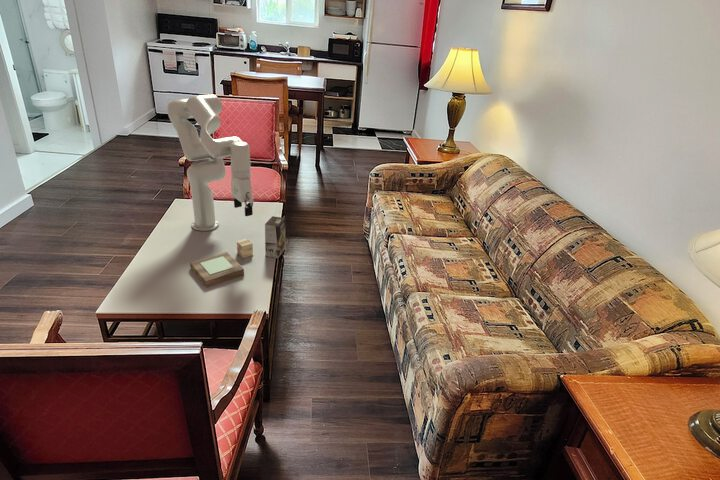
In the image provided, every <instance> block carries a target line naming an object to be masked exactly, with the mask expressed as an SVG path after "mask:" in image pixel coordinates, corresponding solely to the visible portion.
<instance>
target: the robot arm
mask: <svg viewBox="0 0 720 480" xmlns="http://www.w3.org/2000/svg"><path fill="white" fill-rule="evenodd" d="M166 109H167V115H168V118H169V120H170V123H171V124H172V127H174V129H175V131H176V133H177V136H178V139H179V143H180V145H181V149H182V151H183V155H184V157H185V158H186V160H187V161H188V162H196V161H202V160H207V159H208V161H205V162H200V163H199V162H198V163H194V164H192V165H190V166H189V167H188V168H187V170H186V175H187V179H188V182H189V183H188V184H189V186H190V192H191V193H190V194H191V200H192V209H193V217H194V218H193V219H194V220H193V221H192V222H191V228H192V229H193V230H196V231H199V232H210V231H212V230H216V229H217V228H218V227H219V226H220V222H219V221H218V220H217V219H216V216H215V215H216V214H215V202H214V192H213V189H212V188H211V187H210V186H208V184H210V183H213V182H218V181H222V180H224V179H225V178H226V176H227V170H226V166H225V162H224V159H223V158H227V157H230V168H231V169H230V170H231V183H230V184H231V187H230V189H231V196H233V205H234V208H235V209H237V208H241V207H242V206H243V204H244V216H245V217H251V216H253V212H254V211H253V206H254V201H255V200H254V198H253V189H252V182H251V177H252V171H251V170H252V168H251V148H250V145H249V143H248V142H246V141H243V140H242V139H241V138H240V137H238V136H233V135H232V136H228V137H225V136H224V137H220V138H213V137H212V136H211V135H213V134H214V133H215V132H216V131H217V130H218V129H219V128H220V126H221V125H222V123H221V122H222V120H221V117H220V116H219V115H220V114H221V113H222V111H223V103H222V101H221V99H220V98H219V97H218V96H217V95H216V94H201V95H198V94H197V95H193V96H190V97H189V98H179V99H178V98H177V99H174V100H172V101H170V102H168V105H167V108H166ZM188 119H194V120H195V121H196V123H197V124H198V125H199V127H200V131H199V132H198V129H197V127H196V126H195V125H194V124H193V123H192V122H191V121H189V120H188Z"/></svg>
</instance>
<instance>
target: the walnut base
mask: <svg viewBox="0 0 720 480" xmlns="http://www.w3.org/2000/svg"><path fill="white" fill-rule="evenodd" d="M189 265H190V270H191V271H192V272H193V273H194V274H195V276H197V278H198V279H199V280H200V282H202V285H204V286H205V288H208V287H213V286H215V285H217V284H220V283H221V284H222V283H224V282H227V281H231V280H234V279H237V278H239V277H243V276H244V275H245V269H244V267H243V266H241V264H240V263H239V262H237V261H236V259H234V258H233V257H232V256H231V254H230V253H229V252H227V251H226V252H222V253H218V254H213V255H211V256H208V257H203V258H201V259H197V260H193V261H190V262H189Z"/></svg>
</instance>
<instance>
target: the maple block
mask: <svg viewBox="0 0 720 480" xmlns="http://www.w3.org/2000/svg"><path fill="white" fill-rule="evenodd" d="M253 246H254V245H253V242H251V241H250V239H248V238H245V239H244V238H243V239H240V240H237V241H236V251H237V255H239V256H240V257H241V258H242V259H244V258H247V257H250V255H251V256H253V255H254V249H253V248H254V247H253Z"/></svg>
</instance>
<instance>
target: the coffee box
mask: <svg viewBox="0 0 720 480" xmlns="http://www.w3.org/2000/svg"><path fill="white" fill-rule="evenodd" d="M264 244H265V246H264V249H265V250H264V251H265V257H270V258H274V259H279V258H280V257H281V255H282V254H283V252H284V251H285V250H286V217H280V216H271V217H270V218H269V219H268V220H267V221H266V223H265V224H264Z"/></svg>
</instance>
